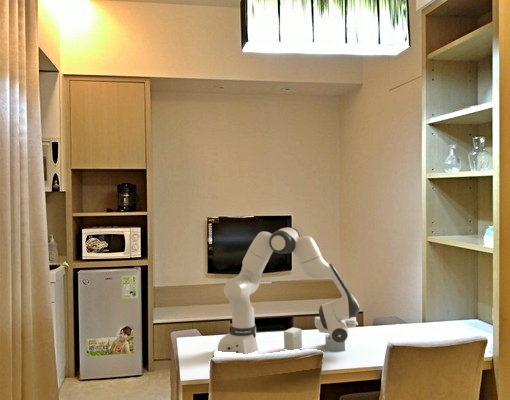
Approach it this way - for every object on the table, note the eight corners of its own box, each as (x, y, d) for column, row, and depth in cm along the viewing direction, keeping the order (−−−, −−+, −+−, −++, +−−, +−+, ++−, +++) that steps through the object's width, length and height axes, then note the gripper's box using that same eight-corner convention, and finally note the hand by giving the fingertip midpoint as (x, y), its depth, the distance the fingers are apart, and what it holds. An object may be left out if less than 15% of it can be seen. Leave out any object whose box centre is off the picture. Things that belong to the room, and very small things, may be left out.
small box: (293, 347, 235) (292, 327, 235) (302, 349, 231) (301, 328, 231) (284, 352, 229) (283, 331, 229) (293, 354, 225) (292, 333, 225)
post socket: (326, 350, 229) (326, 340, 229) (325, 344, 238) (325, 334, 238) (345, 350, 228) (344, 340, 228) (343, 344, 237) (342, 334, 237)
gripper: (358, 318, 219) (355, 310, 233) (315, 319, 221) (314, 311, 235) (359, 331, 219) (355, 323, 233) (315, 332, 221) (314, 323, 235)
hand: (334, 317), depth 234 cm, fingers closed on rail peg, 4 cm apart
